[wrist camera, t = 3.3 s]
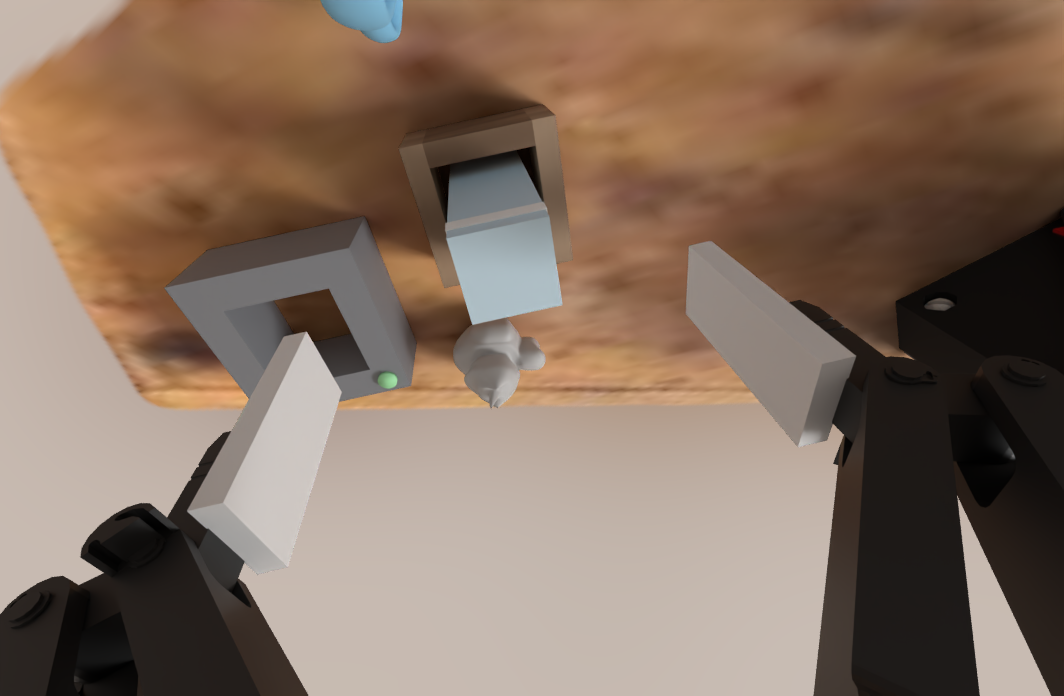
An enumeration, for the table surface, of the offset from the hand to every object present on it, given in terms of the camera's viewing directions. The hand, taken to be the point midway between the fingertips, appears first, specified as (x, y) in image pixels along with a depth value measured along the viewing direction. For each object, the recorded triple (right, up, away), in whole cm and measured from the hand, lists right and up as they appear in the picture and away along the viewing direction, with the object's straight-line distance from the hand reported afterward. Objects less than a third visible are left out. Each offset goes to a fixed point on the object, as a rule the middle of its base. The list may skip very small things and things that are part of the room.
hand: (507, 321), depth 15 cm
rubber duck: (-2, 0, +19) cm, 19 cm away
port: (-14, +2, +15) cm, 20 cm away
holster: (-2, +9, +12) cm, 15 cm away
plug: (-2, +9, +12) cm, 15 cm away
